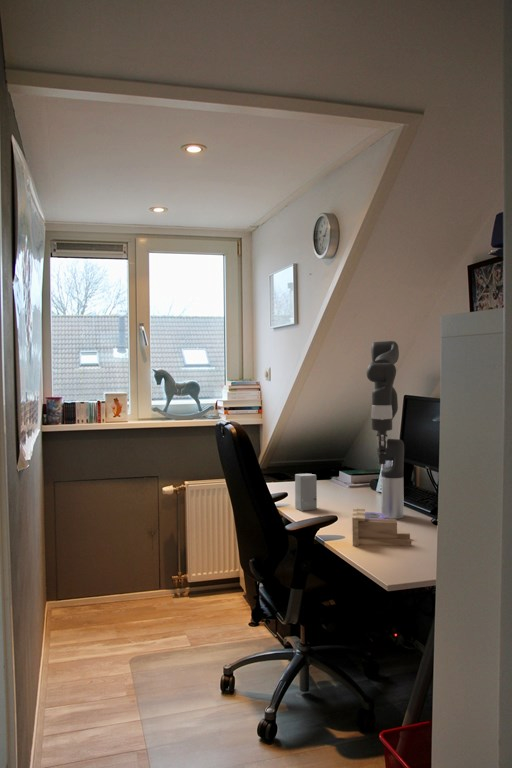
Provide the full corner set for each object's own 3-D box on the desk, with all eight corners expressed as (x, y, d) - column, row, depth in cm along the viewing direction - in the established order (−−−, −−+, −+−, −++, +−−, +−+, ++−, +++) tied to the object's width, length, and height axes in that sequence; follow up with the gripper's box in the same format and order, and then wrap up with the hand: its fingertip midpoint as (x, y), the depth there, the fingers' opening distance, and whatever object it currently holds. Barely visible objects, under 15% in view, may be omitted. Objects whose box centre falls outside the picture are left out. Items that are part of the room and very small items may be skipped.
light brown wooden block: (358, 539, 239) (358, 518, 238) (396, 540, 236) (396, 519, 236) (358, 543, 234) (358, 521, 233) (397, 544, 231) (397, 522, 231)
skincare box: (301, 511, 282) (300, 476, 281) (294, 508, 288) (293, 473, 288) (318, 509, 285) (317, 474, 284) (310, 506, 292) (310, 472, 291)
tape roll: (389, 525, 257) (389, 513, 257) (382, 533, 246) (382, 520, 246) (361, 522, 262) (361, 510, 262) (353, 529, 251) (352, 517, 251)
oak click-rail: (353, 535, 244) (353, 508, 243) (409, 536, 240) (409, 510, 239) (352, 545, 230) (352, 518, 229) (412, 547, 226) (411, 519, 226)
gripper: (371, 415, 240) (371, 460, 241) (371, 418, 227) (372, 466, 228) (391, 415, 239) (391, 461, 239) (393, 418, 226) (393, 467, 226)
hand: (382, 463), depth 233 cm, fingers closed
